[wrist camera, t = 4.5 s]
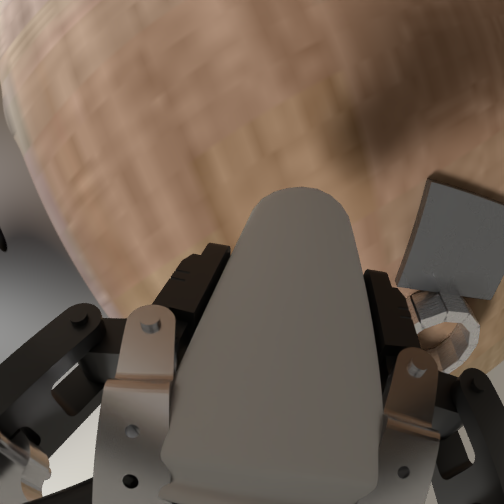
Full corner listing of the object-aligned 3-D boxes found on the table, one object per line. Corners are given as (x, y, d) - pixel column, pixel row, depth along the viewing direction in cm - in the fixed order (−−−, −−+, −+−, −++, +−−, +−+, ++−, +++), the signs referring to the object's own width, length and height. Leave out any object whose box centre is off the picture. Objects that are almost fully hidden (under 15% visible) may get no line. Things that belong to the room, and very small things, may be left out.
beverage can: (328, 284, 15) (314, 536, 5) (239, 256, 15) (138, 499, 5) (366, 202, 12) (445, 510, 2) (264, 167, 12) (99, 465, 2)
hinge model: (427, 178, 16) (445, 192, 13) (522, 211, 15) (542, 227, 12) (336, 399, 28) (336, 422, 26) (413, 402, 27) (416, 423, 24)
